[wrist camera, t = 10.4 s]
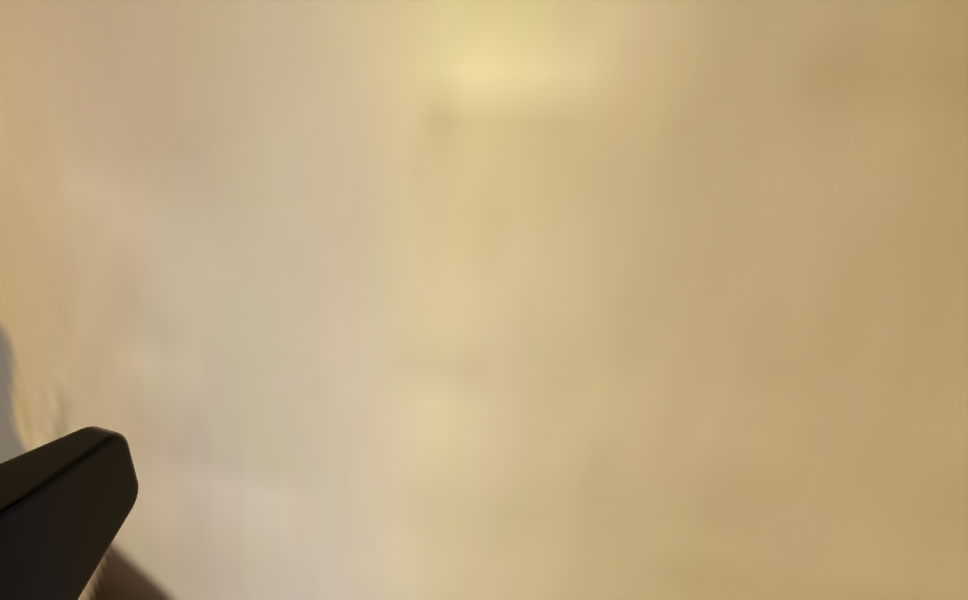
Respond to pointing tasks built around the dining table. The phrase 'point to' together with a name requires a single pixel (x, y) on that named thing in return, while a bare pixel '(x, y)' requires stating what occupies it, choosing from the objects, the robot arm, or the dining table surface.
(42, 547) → the robot arm
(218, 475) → the dining table surface
